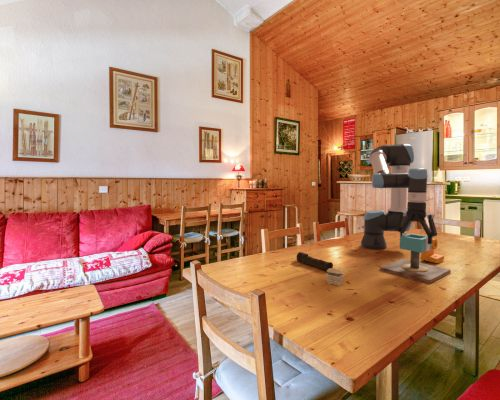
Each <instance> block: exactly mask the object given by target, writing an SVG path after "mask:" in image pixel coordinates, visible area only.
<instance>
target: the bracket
mask: <svg viewBox="0 0 500 400" xmlns="http://www.w3.org/2000/svg"><path fill="white" fill-rule="evenodd" d="M437 248H438V239H437V238H432V246H431V250H429V251H425V252H423V253H421V254H420V260H421V261H424V260H425V262H430V263H435V264H439V263H442V262H443V260H445V255H443V254H437V253H435V251H434V250H436V249H437Z"/></svg>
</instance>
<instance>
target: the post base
mask: <svg viewBox="0 0 500 400" xmlns="http://www.w3.org/2000/svg"><path fill="white" fill-rule="evenodd" d="M420 256H421V254H420V252H415V251H410V260H409V259H405V258H401V259H398V260H395V261H391V262H390V263H387V264H385V265H382V266H379V271H382V272H386V273H389V274H393V275H396V276H399V277H403V278H409V279H411V280H415V279H416V280H415V281H418V280H419V282H422V281H423V283H426V284H432V283H433V282H436V281H439V280H440V279H441V278H443V277H445V276H447V275H449V274H452V273H451V269H450V268H445V267H440V266H436V265H432V264H428V263H423V262H420Z"/></svg>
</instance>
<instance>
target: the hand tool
mask: <svg viewBox="0 0 500 400" xmlns="http://www.w3.org/2000/svg"><path fill="white" fill-rule="evenodd" d="M296 261H297V262H298V263H300V264H303V265H309V266H313V267H315V268H318V269H321V270H322V271H323V270H324V271H325V272H327V270H328V269H329V268H334V263H333V262H330V261H325V260H323V259H318V258H314V257H312V256H309V254H307V253H305V252H301V251H298V253H297V254H296Z"/></svg>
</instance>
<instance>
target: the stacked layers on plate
mask: <svg viewBox="0 0 500 400" xmlns="http://www.w3.org/2000/svg"><path fill="white" fill-rule="evenodd" d="M342 273H344V271H343V270H340V269H338V268H334V267H333V268H329V269H328V270H327V271H326V276H327V277H326V280H327V284H329V285H335V286H338V287H340V286H341V285H343V281H344V279H343V276H344V274H342Z"/></svg>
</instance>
